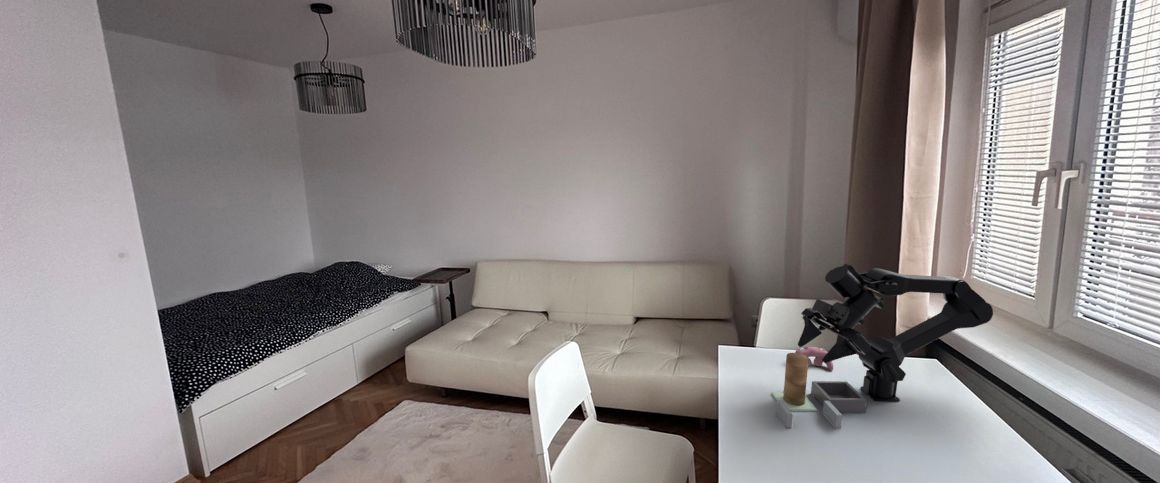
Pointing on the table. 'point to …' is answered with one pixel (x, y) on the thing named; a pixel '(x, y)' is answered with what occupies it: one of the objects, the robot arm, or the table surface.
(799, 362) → the walnut post
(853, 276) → the robot arm
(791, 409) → the pad
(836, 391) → the gray open box
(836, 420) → the channel
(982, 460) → the table surface
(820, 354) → the video game controller
